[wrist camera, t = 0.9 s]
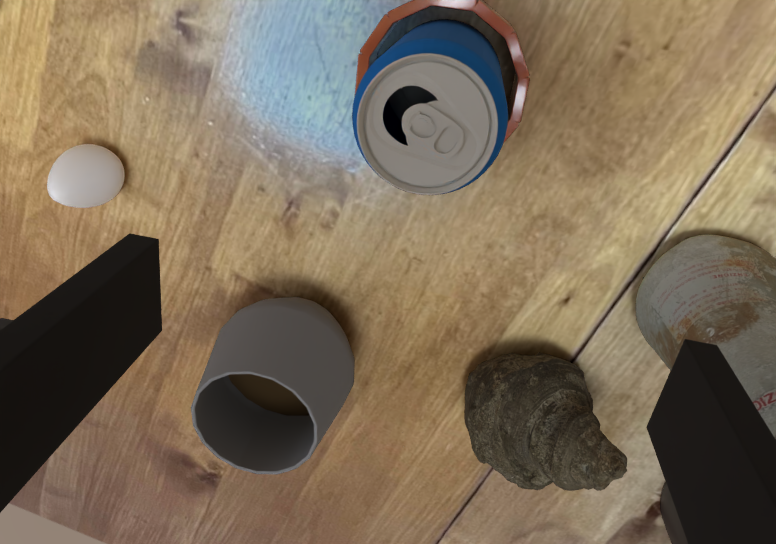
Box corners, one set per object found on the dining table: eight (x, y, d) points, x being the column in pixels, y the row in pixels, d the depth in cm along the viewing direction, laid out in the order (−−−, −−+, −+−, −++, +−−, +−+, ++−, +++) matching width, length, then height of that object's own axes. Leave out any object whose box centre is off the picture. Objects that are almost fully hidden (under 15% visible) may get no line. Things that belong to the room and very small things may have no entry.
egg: (84, 128, 39) (27, 151, 34) (138, 155, 40) (90, 181, 35) (73, 178, 41) (17, 206, 36) (125, 203, 41) (77, 235, 36)
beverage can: (428, -7, 33) (402, 5, 22) (524, 62, 34) (543, 105, 23) (366, 95, 36) (317, 149, 25) (457, 156, 37) (446, 233, 26)
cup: (259, 253, 42) (198, 330, 33) (384, 308, 42) (358, 399, 33) (222, 356, 46) (160, 449, 37) (336, 405, 46) (302, 508, 38)
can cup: (430, -45, 32) (426, -47, 30) (558, 64, 34) (564, 72, 31) (335, 93, 36) (323, 103, 33) (454, 185, 38) (451, 202, 35)
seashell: (622, 543, 40) (690, 433, 36) (475, 592, 35) (531, 471, 30) (524, 422, 49) (567, 320, 44) (394, 447, 44) (427, 334, 39)
